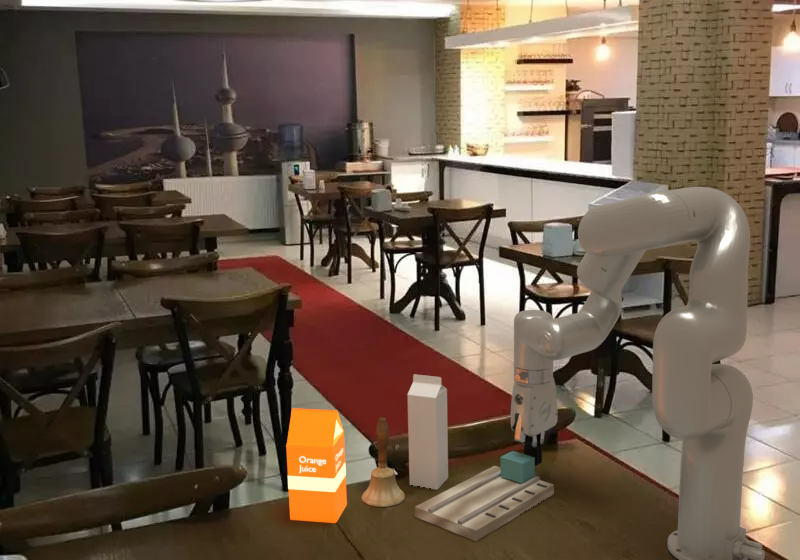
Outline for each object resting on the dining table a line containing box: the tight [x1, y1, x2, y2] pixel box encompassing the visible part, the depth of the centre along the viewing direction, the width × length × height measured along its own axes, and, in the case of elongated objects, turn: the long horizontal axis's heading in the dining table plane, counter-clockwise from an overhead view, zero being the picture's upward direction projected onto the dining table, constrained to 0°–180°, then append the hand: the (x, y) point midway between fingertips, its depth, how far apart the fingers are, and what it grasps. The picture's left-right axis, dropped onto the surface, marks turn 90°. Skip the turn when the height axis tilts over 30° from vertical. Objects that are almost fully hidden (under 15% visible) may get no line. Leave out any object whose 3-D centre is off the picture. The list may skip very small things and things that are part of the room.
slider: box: [499, 450, 536, 484], centre depth 165 cm, size 5×4×4 cm
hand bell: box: [361, 417, 406, 508], centre depth 162 cm, size 8×8×16 cm
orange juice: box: [285, 407, 348, 524], centre depth 156 cm, size 8×9×20 cm
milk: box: [407, 373, 449, 491], centre depth 167 cm, size 6×6×22 cm
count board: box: [414, 465, 555, 542], centre depth 158 cm, size 14×24×3 cm, turn 137°
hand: (532, 462), depth 169 cm, fingers closed
